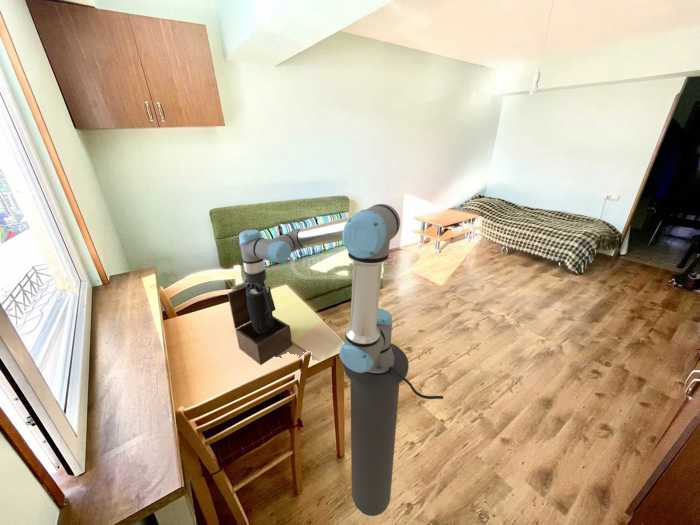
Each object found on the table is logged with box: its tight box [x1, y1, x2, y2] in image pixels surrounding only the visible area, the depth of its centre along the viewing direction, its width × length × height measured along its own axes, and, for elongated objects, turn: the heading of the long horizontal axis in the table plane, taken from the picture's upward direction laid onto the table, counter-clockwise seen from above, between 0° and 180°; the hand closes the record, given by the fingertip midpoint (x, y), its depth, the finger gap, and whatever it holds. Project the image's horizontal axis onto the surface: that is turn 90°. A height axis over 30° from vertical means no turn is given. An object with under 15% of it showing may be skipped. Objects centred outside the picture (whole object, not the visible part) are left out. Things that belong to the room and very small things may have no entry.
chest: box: [234, 315, 293, 366], centre depth 119 cm, size 16×16×10 cm
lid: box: [227, 281, 251, 330], centre depth 120 cm, size 17×16×8 cm
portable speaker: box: [246, 287, 273, 334], centre depth 112 cm, size 9×9×20 cm
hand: (262, 319), depth 115 cm, fingers closed on portable speaker, 9 cm apart
